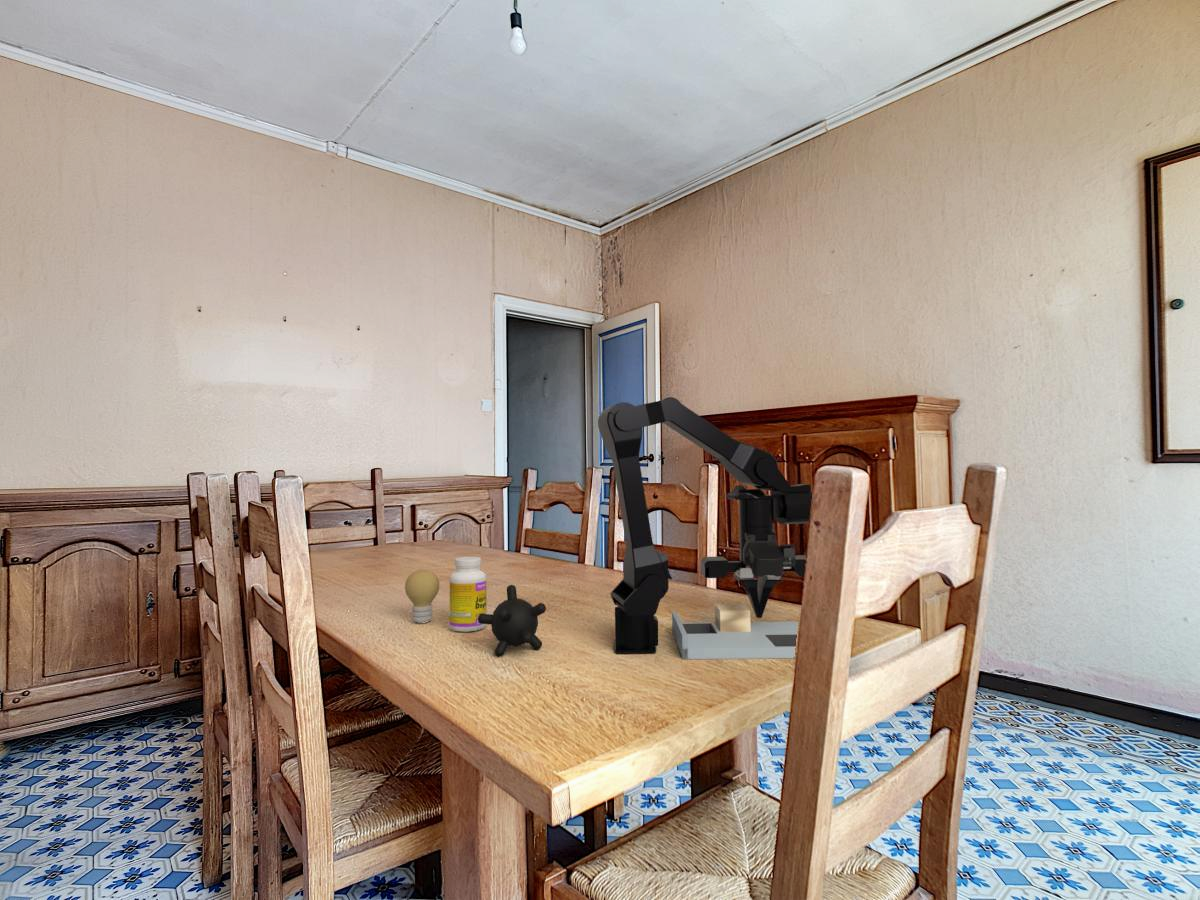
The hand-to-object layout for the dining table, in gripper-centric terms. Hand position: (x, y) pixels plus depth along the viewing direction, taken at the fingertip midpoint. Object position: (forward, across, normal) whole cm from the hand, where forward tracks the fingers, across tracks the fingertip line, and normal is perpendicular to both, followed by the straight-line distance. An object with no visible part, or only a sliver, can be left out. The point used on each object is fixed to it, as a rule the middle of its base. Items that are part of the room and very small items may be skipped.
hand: (758, 617), depth 103 cm
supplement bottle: (+3, -51, +8) cm, 52 cm away
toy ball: (+4, -40, -5) cm, 41 cm away
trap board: (+3, -3, -4) cm, 6 cm away
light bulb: (+3, -61, +13) cm, 63 cm away
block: (+2, -4, 0) cm, 5 cm away
